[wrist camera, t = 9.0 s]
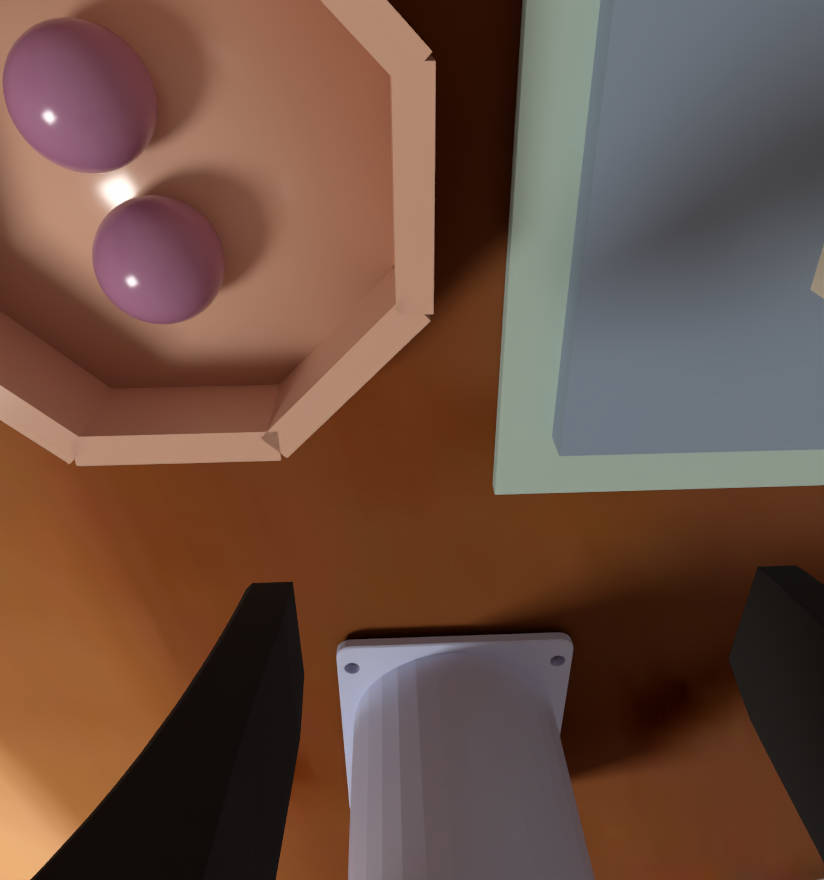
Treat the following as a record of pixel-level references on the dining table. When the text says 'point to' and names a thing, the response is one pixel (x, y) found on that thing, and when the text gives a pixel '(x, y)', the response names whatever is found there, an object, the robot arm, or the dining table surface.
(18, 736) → the dining table surface
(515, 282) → the mat
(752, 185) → the lid
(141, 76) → the bowl
